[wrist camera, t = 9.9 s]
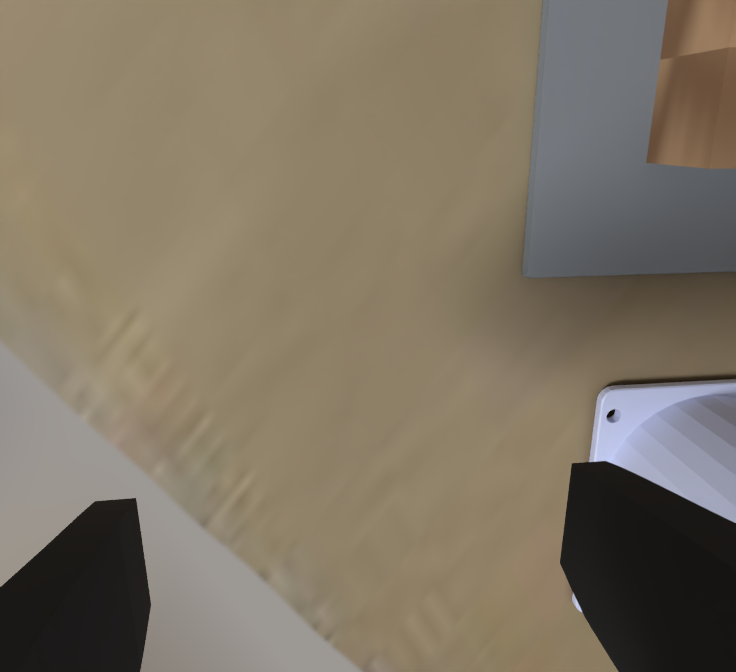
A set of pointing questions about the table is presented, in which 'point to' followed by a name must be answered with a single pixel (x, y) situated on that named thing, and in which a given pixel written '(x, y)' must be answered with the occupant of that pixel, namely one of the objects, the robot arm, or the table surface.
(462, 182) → the table surface
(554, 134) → the mat
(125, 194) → the table surface
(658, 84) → the square frame
